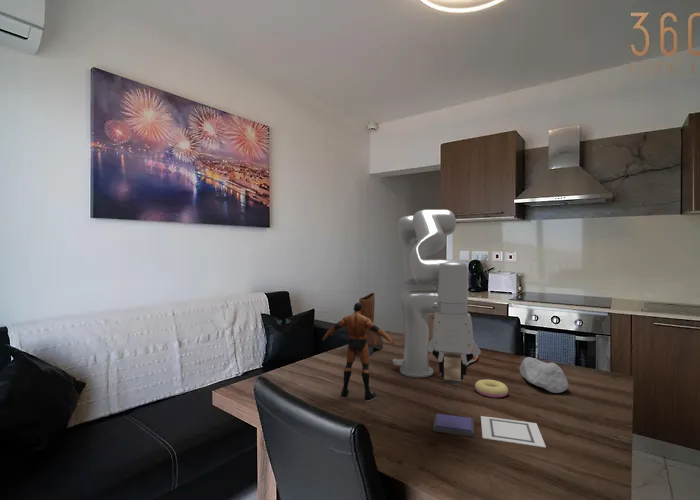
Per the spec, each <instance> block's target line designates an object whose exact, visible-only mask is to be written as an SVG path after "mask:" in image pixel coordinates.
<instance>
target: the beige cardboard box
mask: <svg viewBox="0 0 700 500" xmlns="http://www.w3.org/2000/svg"><path fill="white" fill-rule="evenodd" d="M443 357H444V377H443V378H442V379H443V380H442V381H443V384H444V385H445V384H446V385H456V386H462V379H461V354H459V353H448V352H445V354H444V356H443Z"/></svg>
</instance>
